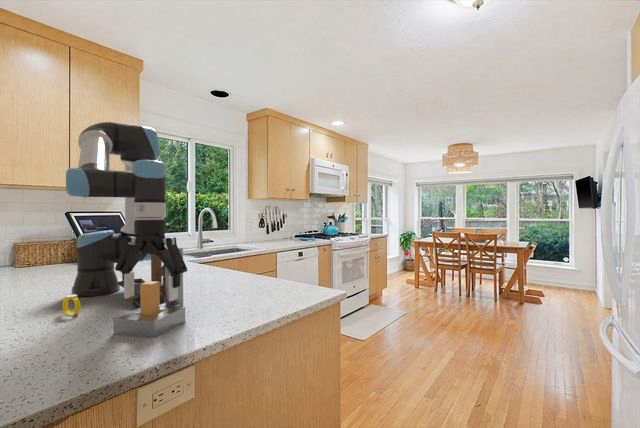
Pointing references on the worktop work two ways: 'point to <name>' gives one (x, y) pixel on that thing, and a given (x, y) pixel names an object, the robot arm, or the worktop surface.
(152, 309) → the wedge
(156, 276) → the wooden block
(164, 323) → the grey l-shaped piece
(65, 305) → the watch
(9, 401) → the worktop surface
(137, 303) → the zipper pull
